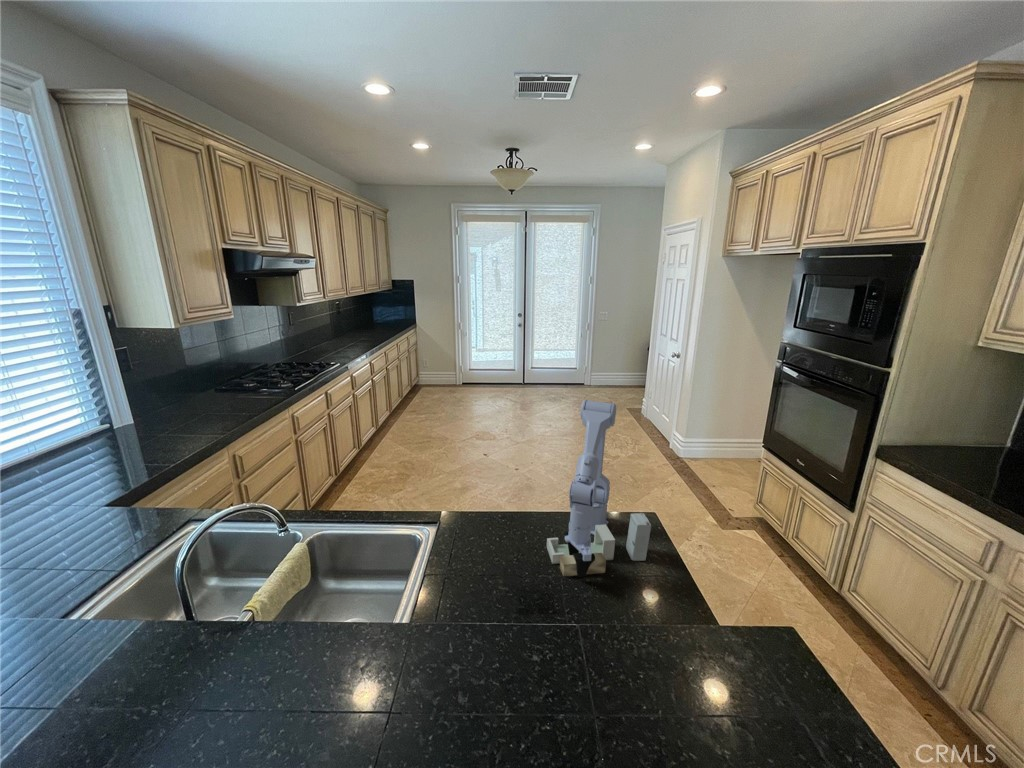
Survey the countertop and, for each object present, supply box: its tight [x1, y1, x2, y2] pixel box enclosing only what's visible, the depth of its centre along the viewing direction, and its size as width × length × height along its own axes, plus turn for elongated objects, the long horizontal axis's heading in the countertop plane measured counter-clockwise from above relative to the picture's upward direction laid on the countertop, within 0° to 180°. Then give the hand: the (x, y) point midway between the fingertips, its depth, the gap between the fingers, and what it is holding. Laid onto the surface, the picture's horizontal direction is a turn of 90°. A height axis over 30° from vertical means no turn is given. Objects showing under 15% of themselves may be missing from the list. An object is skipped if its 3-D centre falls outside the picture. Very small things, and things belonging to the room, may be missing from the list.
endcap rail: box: [546, 524, 616, 565], centre depth 118 cm, size 18×8×7 cm, turn 98°
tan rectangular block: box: [559, 553, 607, 578], centre depth 111 cm, size 12×4×4 cm, turn 99°
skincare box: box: [625, 512, 652, 562], centre depth 117 cm, size 6×4×12 cm
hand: (577, 566), depth 111 cm, fingers open, 7 cm apart
